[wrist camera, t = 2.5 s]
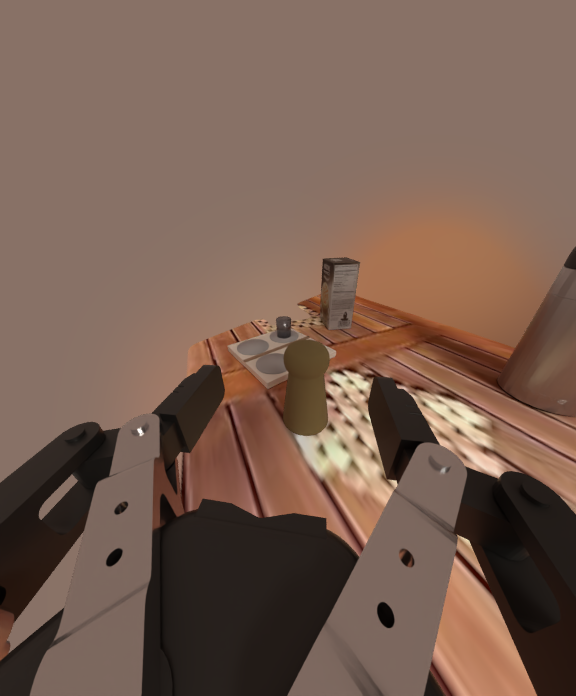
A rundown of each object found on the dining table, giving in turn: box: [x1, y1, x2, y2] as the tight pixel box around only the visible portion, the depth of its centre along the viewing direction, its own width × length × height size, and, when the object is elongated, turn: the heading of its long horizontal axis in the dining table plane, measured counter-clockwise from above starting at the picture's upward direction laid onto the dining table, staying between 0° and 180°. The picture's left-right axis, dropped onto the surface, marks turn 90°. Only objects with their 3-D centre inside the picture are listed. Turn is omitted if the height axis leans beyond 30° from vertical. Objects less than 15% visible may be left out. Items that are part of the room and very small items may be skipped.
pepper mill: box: [283, 340, 330, 436], centre depth 25 cm, size 6×6×11 cm
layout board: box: [228, 328, 336, 389], centre depth 42 cm, size 16×16×1 cm
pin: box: [276, 316, 291, 339], centre depth 46 cm, size 3×3×4 cm
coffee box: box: [320, 258, 360, 330], centre depth 52 cm, size 9×6×16 cm
